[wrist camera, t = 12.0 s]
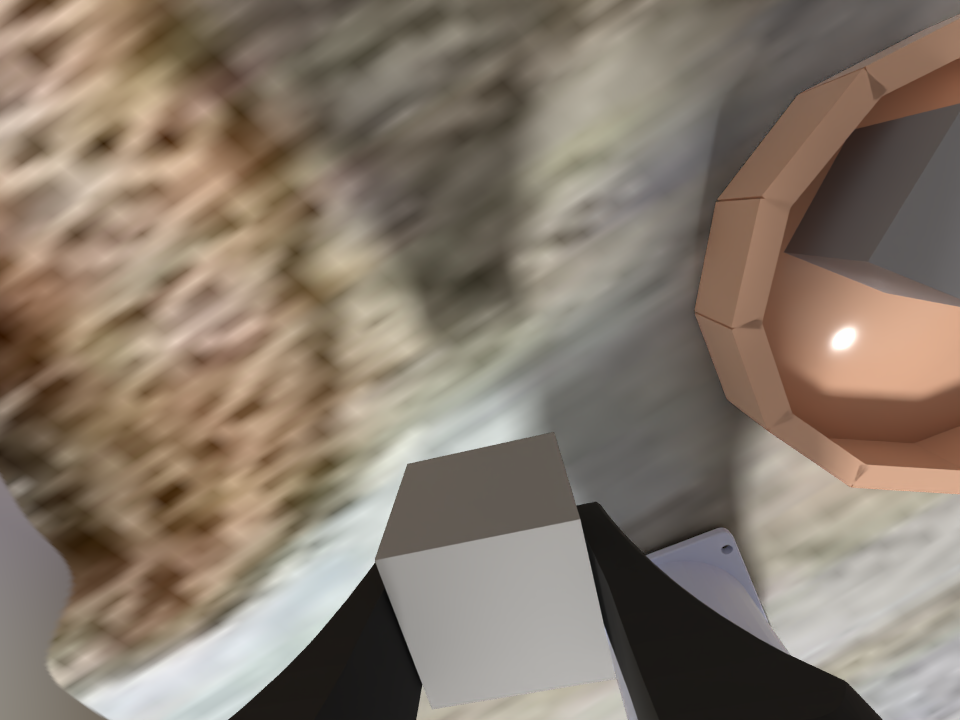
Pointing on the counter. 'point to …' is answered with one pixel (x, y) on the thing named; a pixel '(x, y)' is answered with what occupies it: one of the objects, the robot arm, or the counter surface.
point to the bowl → (835, 294)
